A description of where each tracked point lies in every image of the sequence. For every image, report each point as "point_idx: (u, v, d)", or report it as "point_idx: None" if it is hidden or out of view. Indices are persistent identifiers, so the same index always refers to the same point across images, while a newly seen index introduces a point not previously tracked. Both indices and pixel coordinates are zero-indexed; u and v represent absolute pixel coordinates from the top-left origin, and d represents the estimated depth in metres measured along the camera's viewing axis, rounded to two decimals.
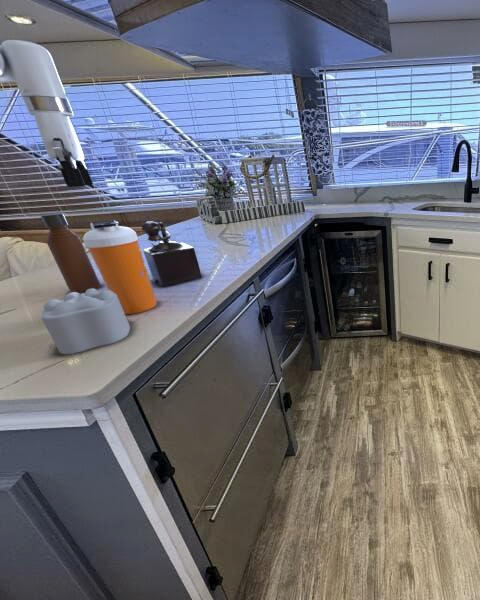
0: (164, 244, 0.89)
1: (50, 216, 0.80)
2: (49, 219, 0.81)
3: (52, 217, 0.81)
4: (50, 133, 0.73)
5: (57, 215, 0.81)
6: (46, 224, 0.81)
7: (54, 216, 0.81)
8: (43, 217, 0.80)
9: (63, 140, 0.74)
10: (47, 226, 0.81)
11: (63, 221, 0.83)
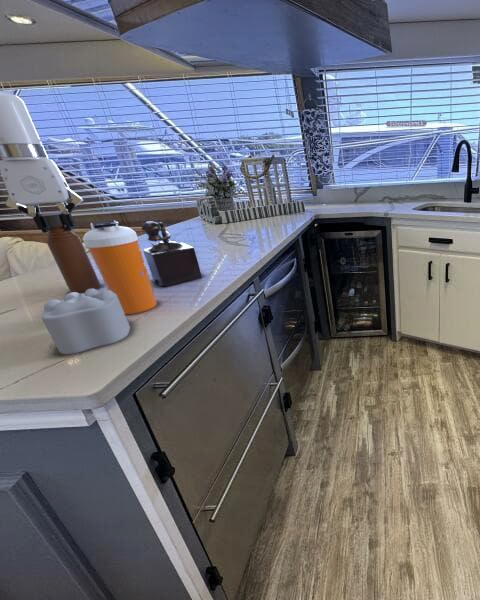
0: (164, 244, 0.89)
1: (50, 216, 0.80)
2: (49, 219, 0.81)
3: (52, 217, 0.81)
4: (61, 177, 0.80)
5: (57, 215, 0.81)
6: (46, 224, 0.81)
7: (54, 216, 0.81)
8: (43, 217, 0.80)
9: (66, 183, 0.82)
10: (47, 226, 0.81)
11: None
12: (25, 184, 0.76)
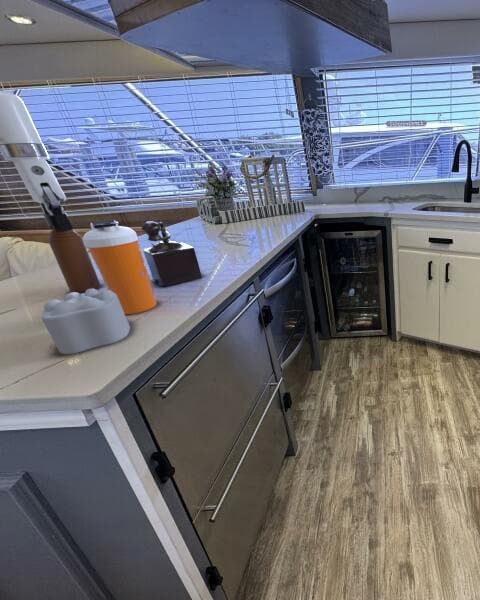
0: (164, 244, 0.89)
1: None
2: None
3: None
4: None
5: None
6: None
7: None
8: None
9: None
10: None
11: None
12: None
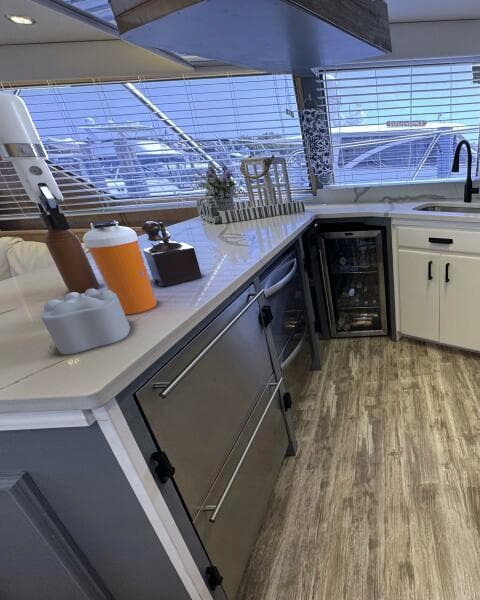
0: (164, 244, 0.89)
1: None
2: None
3: None
4: None
5: None
6: None
7: None
8: None
9: None
10: None
11: None
12: None
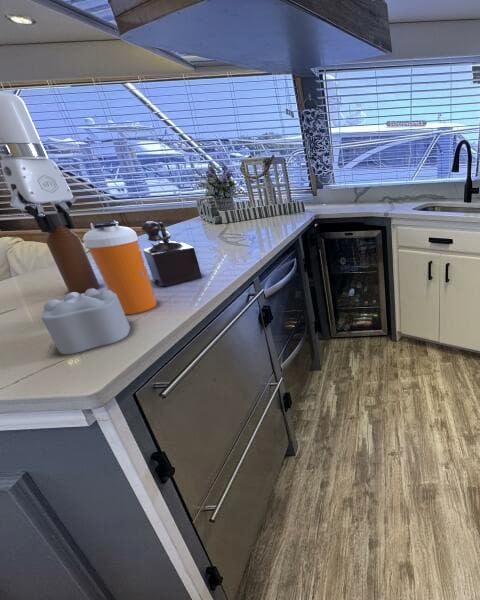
0: (164, 244, 0.89)
1: None
2: None
3: None
4: None
5: None
6: None
7: None
8: None
9: None
10: None
11: None
12: (41, 183, 0.77)
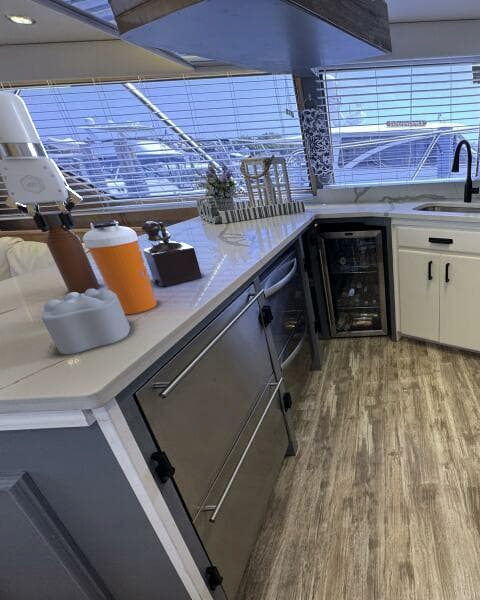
0: (164, 244, 0.89)
1: None
2: None
3: None
4: (61, 177, 0.80)
5: None
6: None
7: None
8: None
9: None
10: None
11: (43, 222, 0.81)
12: (25, 183, 0.76)
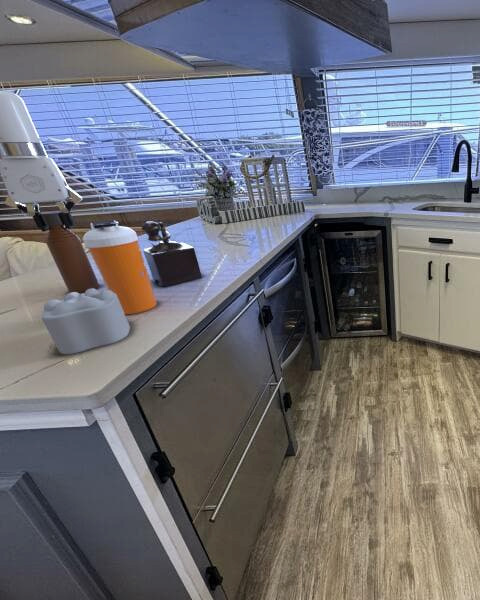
0: (164, 244, 0.89)
1: (47, 215, 0.80)
2: (46, 218, 0.80)
3: (48, 216, 0.80)
4: (61, 176, 0.80)
5: (54, 214, 0.81)
6: (44, 222, 0.81)
7: (50, 215, 0.80)
8: (41, 215, 0.80)
9: None
10: (45, 224, 0.81)
11: (60, 220, 0.82)
12: (24, 183, 0.76)
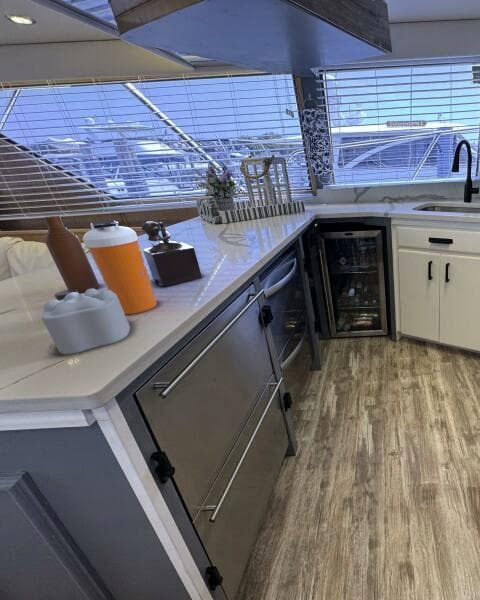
0: (164, 244, 0.89)
1: None
2: None
3: None
4: None
5: None
6: None
7: None
8: None
9: None
10: None
11: None
12: None
